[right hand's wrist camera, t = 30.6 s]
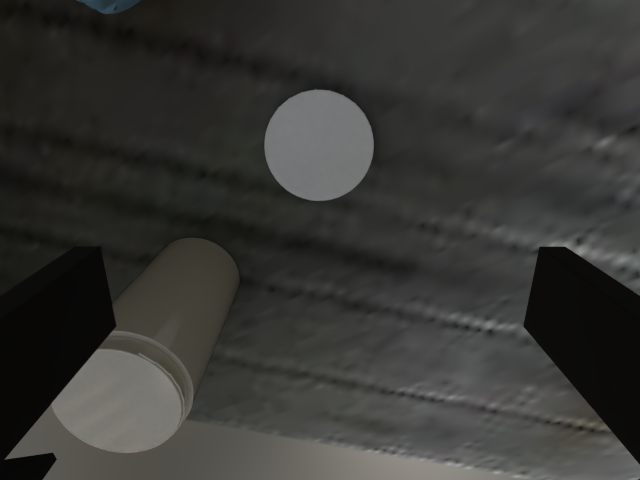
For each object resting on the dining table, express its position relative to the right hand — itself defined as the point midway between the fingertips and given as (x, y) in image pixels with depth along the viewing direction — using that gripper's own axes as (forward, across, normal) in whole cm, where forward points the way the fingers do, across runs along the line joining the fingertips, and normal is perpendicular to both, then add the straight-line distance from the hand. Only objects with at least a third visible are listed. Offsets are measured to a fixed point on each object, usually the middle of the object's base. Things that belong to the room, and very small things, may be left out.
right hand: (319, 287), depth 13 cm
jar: (+30, +14, +14) cm, 36 cm away
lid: (+29, 0, 0) cm, 29 cm away
